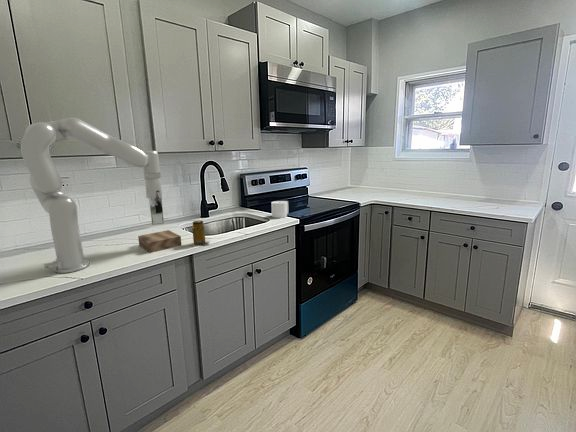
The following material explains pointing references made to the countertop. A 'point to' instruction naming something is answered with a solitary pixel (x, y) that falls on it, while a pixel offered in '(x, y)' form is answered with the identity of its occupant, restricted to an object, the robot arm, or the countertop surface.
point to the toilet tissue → (279, 209)
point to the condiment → (199, 234)
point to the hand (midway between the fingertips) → (156, 211)
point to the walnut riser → (159, 241)
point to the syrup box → (155, 217)
